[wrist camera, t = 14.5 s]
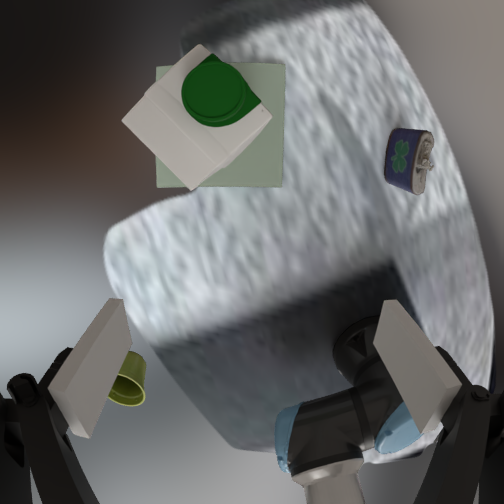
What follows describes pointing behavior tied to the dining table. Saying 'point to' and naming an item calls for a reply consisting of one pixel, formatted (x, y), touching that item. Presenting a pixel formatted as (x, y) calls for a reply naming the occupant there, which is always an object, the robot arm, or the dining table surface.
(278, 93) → the peg stand
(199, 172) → the soya milk
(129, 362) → the plant pot
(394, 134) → the flask
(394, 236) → the dining table surface
